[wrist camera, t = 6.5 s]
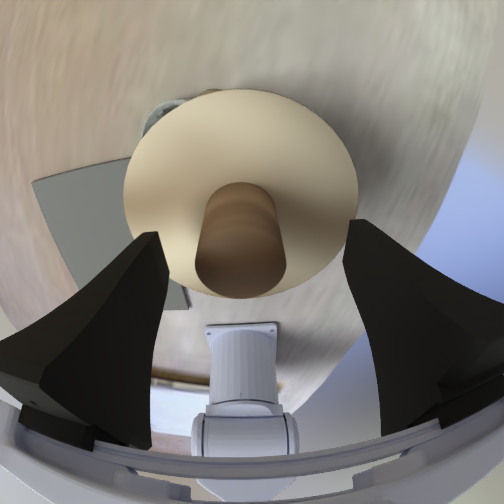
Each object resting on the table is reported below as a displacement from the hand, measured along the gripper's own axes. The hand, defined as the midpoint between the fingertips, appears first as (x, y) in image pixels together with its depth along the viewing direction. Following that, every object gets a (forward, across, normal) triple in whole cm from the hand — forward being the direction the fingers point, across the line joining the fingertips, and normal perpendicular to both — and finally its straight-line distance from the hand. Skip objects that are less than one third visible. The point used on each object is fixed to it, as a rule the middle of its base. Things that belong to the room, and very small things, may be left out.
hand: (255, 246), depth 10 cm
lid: (+3, 0, 0) cm, 3 cm away
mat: (+10, +13, +7) cm, 18 cm away
